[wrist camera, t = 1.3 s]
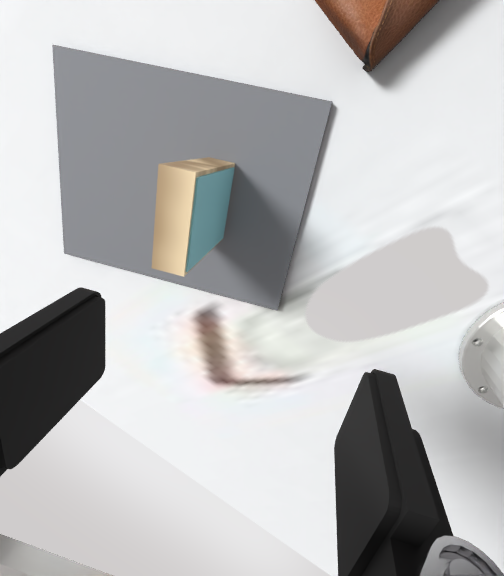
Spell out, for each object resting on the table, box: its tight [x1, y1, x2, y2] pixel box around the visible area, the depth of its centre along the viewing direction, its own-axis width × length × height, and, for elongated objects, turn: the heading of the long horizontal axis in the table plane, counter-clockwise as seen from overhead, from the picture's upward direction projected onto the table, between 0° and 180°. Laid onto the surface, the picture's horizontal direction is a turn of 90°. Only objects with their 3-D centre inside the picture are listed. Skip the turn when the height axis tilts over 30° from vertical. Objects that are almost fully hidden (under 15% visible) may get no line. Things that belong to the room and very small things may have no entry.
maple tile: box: [152, 157, 235, 277], centre depth 26 cm, size 3×7×10 cm, turn 169°
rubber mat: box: [53, 45, 332, 311], centre depth 31 cm, size 24×19×1 cm
